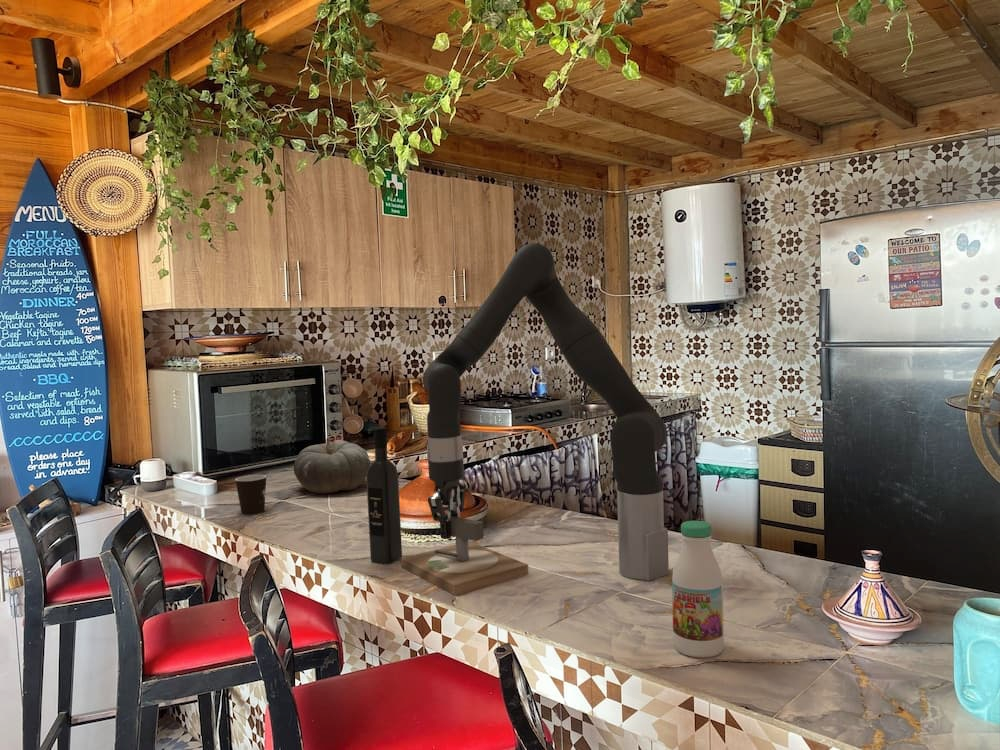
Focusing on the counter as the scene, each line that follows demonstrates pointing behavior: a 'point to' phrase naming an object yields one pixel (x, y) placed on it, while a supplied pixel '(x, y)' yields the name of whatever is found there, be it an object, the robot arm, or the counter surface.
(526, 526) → the counter surface
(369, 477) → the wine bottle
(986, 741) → the counter surface
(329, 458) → the gourd
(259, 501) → the coffee mug
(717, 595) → the milk bottle
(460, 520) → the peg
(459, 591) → the wooden base stand
